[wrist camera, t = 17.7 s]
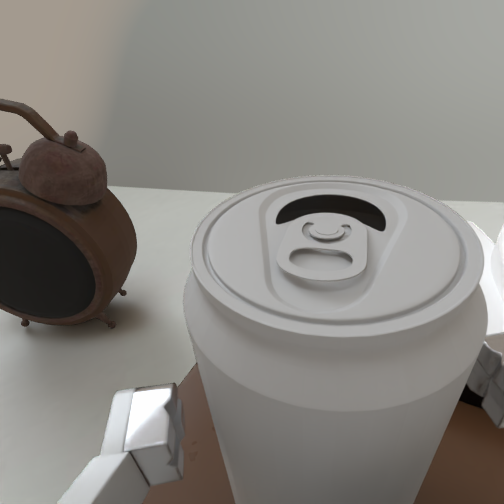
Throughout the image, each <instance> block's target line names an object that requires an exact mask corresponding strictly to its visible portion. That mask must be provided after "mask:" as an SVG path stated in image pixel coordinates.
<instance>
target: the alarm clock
mask: <svg viewBox="0 0 504 504" xmlns="http://www.w3.org/2000/svg"><path fill="white" fill-rule="evenodd" d="M0 110H1V111H6V112H11V113H15V114H18V115H20V116H22V117H23V118H24V119H26V120H27V121H28V122H29V123H30V124H31V125H32V126H33V127H34V128H35V129H37V130H38V131H39V132H40V133H41V134H42V135H43V136H44V138H41V139H39V140H37V141H35V142H33V143H32V144H31V145H30V146H29V147H28V149H27V150H26V152H25V153H24V155H23V156H22V158H20V159H16V160H13V161H9V159H8V157H7V155H6V154H9V153H11V152H12V148H11V146H9V145H6V144H0V155H1V157H2V158H1V157H0V162H1V160H2V159H3V161H4V163H5V164H4V165H1V166H0V309H2V310H4V311H6V312H8V313H11V314H13V315H15V316H18V317H21V318H22V320H23V321H22V322H21V325H22V326H24V327H27V326H28V325H29V324H30V322H29V321H28V320H30V321H34V322H38V323H43V324H50V325H72V324H78V323H82V322H85V321H88V320H90V319H92V318H94V317H95V318H97V319H99V320H101V321H103V322H105V323H106V324H108V327H109V328H114V327H115V325H116V323H115V322H114V321H111V320H110V319H109V318H108V317H107V315H106V314H105V313H104V312H103V310H104V309H105V308H106V307H107V306H108V304H109V303H110V302H111V300H112V299H113V298H114V296H115V295H116V294H117V293H118V292H119V293H120V295H121V296H125V295H126V291H125V290H122V289H121V287H122V286H123V284H124V282H125V280H126V278H127V276H128V274H129V271H130V268H131V266H132V264H133V262H134V259H135V256H136V251H137V239H136V233H135V229H134V226H133V224H132V221H131V219H130V217H129V215H128V213H127V211H126V210H125V208H124V207H123V205H122V204H121V203H120V201H119V200H118V199H117V198H116V197H115V195H114V194H113V193H112V192H111V191H110V190H109V189H108V188H107V172H106V165H105V163H104V161H103V159H102V158H101V157H100V155H99V154H98V153H97V152H96V151H95V150H94V149H93V148H91V147H90V146H89V145H87V144H85V143H83V142H81V141H79V140H78V136H77V134H76V133H75V132H74V131H68V132H67V133H65V135H64V136H59V135H58V134H57V133H56V132H55V130H54V129H53V128H52V127H51V126H50V125H49V124H48V123H47V122H46V121H45V120H44V119H43V118H42V117H41V116H40V115H39V114H38V113H37V112H36V111H35V110H33V109H32V108H31V107H29V106H27V105H25V104H23V103H18V102H14V101H9V100H4V99H0Z"/></svg>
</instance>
